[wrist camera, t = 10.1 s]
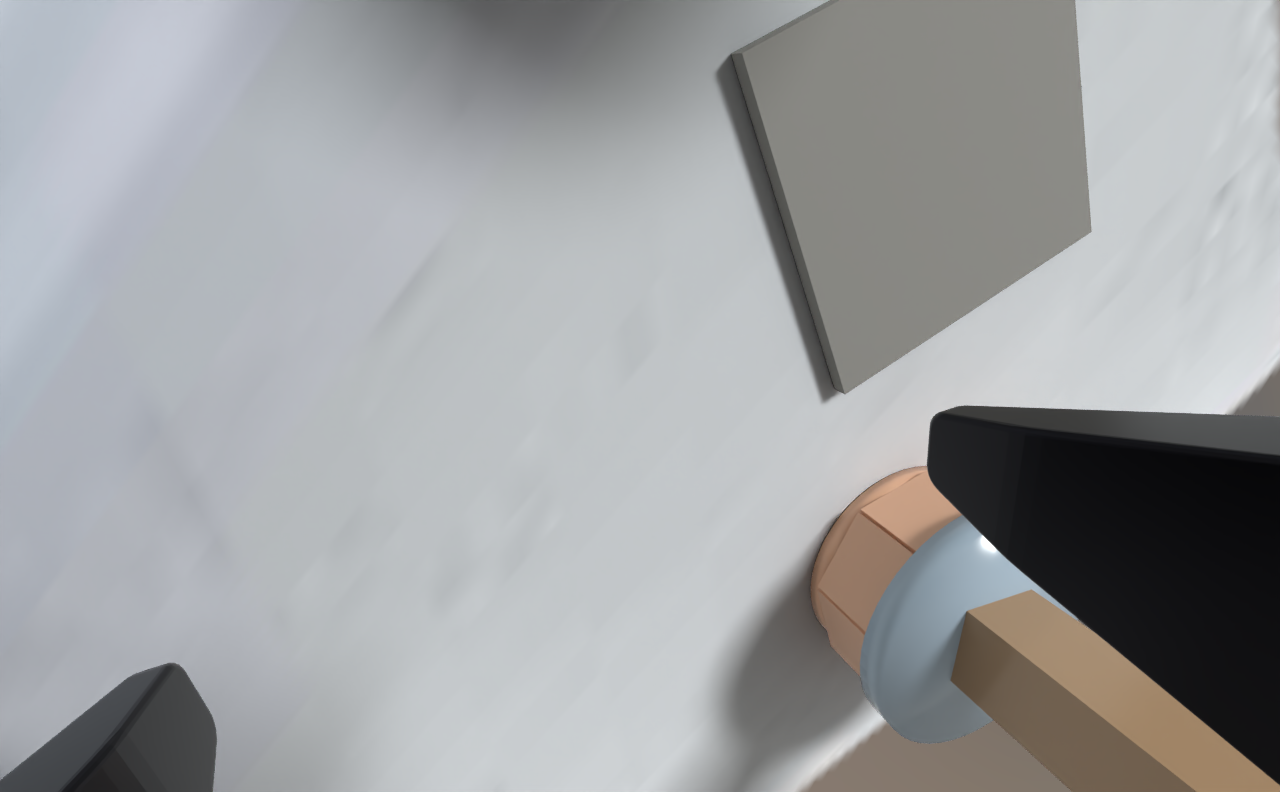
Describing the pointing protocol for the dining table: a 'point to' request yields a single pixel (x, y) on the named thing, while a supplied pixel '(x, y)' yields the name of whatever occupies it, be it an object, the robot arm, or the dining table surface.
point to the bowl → (872, 553)
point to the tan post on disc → (1030, 678)
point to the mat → (918, 160)
